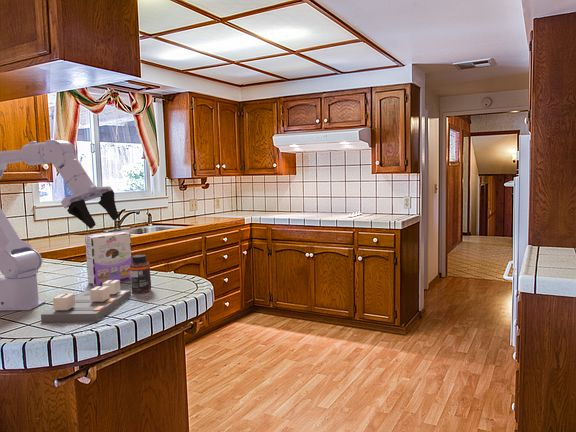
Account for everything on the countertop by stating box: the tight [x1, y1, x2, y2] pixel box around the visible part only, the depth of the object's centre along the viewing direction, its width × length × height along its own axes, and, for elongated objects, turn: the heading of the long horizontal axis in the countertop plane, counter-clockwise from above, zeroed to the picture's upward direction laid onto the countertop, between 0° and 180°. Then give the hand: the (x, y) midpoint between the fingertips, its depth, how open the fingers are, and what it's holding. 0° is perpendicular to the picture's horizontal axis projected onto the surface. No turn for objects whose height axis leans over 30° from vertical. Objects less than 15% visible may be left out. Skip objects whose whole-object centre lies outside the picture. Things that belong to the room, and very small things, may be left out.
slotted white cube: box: [52, 293, 76, 310], centre depth 118 cm, size 4×4×3 cm
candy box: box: [84, 231, 133, 287], centre depth 157 cm, size 14×6×16 cm, turn 134°
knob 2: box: [102, 280, 122, 294], centre depth 132 cm, size 4×4×3 cm
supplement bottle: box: [130, 254, 152, 294], centre depth 142 cm, size 6×6×11 cm
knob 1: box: [89, 285, 110, 302], centre depth 125 cm, size 4×4×3 cm
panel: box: [40, 289, 132, 323], centre depth 125 cm, size 14×23×2 cm, turn 178°
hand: (105, 222), depth 121 cm, fingers open, 7 cm apart
